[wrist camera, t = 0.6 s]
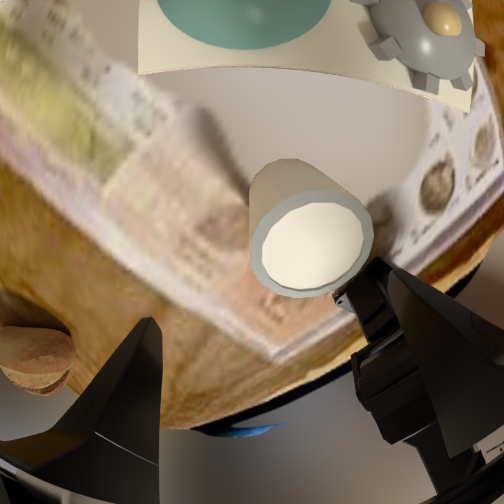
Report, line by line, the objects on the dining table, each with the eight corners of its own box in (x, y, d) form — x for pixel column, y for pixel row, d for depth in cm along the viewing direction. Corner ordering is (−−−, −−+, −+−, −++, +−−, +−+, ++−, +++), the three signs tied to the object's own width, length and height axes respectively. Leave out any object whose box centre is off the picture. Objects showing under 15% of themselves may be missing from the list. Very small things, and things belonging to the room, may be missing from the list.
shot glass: (250, 141, 17) (265, 176, 11) (343, 161, 18) (394, 204, 13) (232, 230, 21) (237, 295, 15) (316, 240, 22) (346, 301, 16)
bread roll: (98, 357, 30) (85, 410, 23) (30, 356, 30) (16, 398, 23) (56, 306, 24) (31, 365, 17) (-7, 314, 24) (-28, 357, 18)
